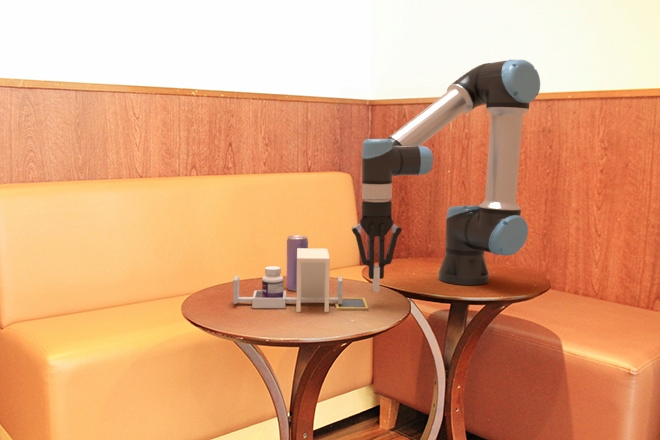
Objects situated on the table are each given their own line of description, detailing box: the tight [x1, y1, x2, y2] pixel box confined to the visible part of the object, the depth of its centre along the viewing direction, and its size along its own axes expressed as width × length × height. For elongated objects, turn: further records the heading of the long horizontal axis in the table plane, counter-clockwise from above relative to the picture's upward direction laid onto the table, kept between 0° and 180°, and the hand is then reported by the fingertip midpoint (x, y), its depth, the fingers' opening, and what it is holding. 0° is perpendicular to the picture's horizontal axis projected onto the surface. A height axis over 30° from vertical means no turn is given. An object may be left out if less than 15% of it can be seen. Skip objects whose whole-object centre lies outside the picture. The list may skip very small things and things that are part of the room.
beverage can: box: [286, 234, 309, 292], centre depth 181 cm, size 6×6×15 cm
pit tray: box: [334, 297, 369, 311], centre depth 166 cm, size 8×10×1 cm
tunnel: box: [295, 247, 331, 313], centre depth 165 cm, size 8×14×14 cm, turn 3°
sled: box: [232, 275, 344, 309], centre depth 165 cm, size 28×8×7 cm, turn 93°
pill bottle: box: [261, 265, 284, 298], centre depth 164 cm, size 5×5×10 cm
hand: (376, 290), depth 166 cm, fingers closed
